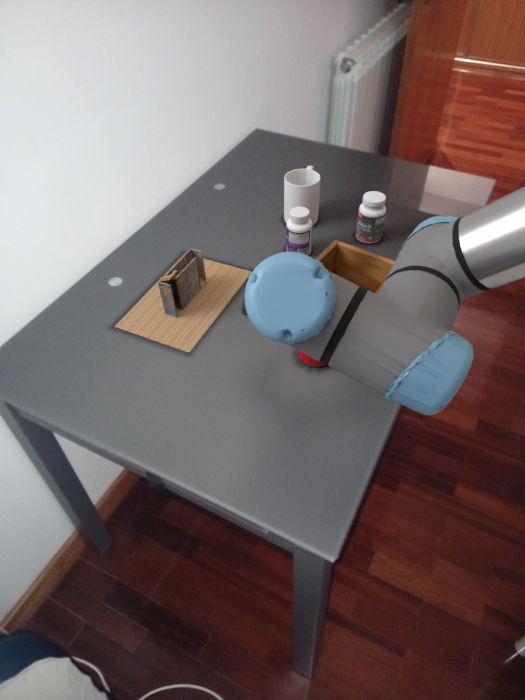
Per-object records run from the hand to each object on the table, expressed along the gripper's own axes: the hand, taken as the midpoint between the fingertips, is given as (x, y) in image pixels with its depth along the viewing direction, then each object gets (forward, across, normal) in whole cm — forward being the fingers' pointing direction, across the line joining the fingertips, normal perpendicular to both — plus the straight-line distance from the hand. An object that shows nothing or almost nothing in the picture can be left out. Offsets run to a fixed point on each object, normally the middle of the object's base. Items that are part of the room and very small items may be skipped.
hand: (318, 316), depth 75 cm
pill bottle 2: (+37, +6, +20) cm, 42 cm away
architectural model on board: (+17, -27, +1) cm, 32 cm away
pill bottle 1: (+31, -8, +14) cm, 35 cm away
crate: (+19, +4, +2) cm, 19 cm away
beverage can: (+10, 0, -6) cm, 12 cm away
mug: (+41, -10, +25) cm, 49 cm away
